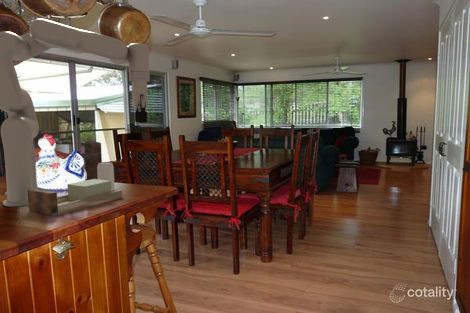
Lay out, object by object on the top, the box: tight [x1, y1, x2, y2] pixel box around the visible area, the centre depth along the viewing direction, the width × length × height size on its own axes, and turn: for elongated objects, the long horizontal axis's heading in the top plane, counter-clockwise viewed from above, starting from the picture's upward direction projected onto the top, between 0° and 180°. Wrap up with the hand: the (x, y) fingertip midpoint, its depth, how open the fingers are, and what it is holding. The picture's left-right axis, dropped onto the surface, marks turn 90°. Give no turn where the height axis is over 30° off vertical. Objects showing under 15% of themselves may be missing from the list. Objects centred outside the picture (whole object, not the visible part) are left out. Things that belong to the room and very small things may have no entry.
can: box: [97, 161, 115, 192], centre depth 155 cm, size 6×6×12 cm
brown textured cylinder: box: [83, 140, 103, 181], centre depth 167 cm, size 8×7×20 cm
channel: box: [27, 188, 123, 218], centre depth 132 cm, size 12×30×8 cm, turn 152°
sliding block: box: [67, 179, 111, 201], centre depth 137 cm, size 9×12×6 cm
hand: (141, 122), depth 143 cm, fingers open, 9 cm apart
